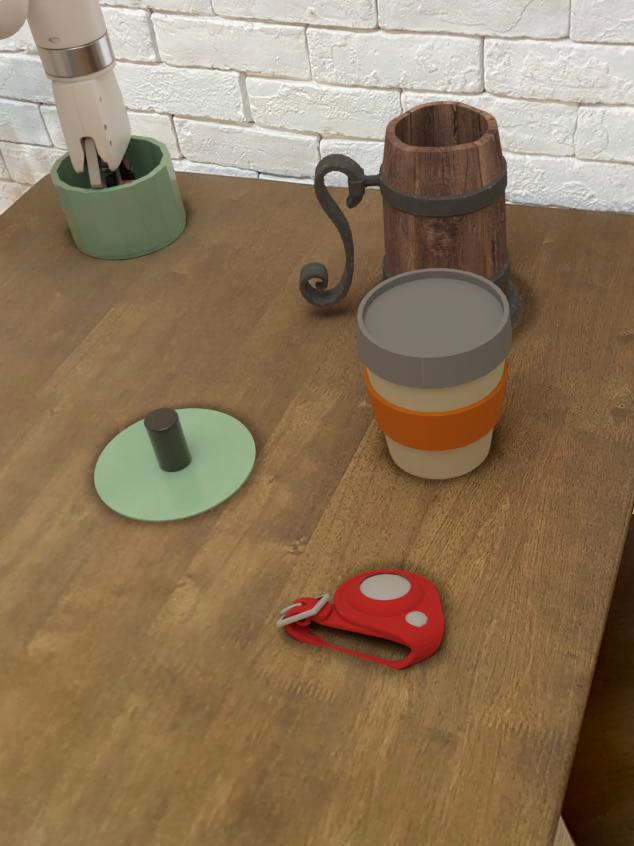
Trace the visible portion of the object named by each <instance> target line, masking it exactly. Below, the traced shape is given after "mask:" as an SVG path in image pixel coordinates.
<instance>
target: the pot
mask: <svg viewBox="0 0 634 846" xmlns="http://www.w3.org/2000/svg"><path fill="white" fill-rule="evenodd" d="M127 149H128V153H129V156H130V159H131V162H132V166H133V171H132V172H129V173H134V175H135V178H136V180H135V181H133V182H131V183H127V184H123V185H119V186H115V187H110V188H97V189H94V188H92V187H91V183H90V176H89V170H88V164H87V166H86V168H85V170H84V172H83V173H81V174H79V173H77V172H76V171H75V170H74V168H73V165H72V162H71V158H70V155H69V152H68V151H66V152H65V153H63V154H62V155H61V156H60V157H59V158H57V159H56V160H55V161H54V163H53V165H52V166H51V169H50V170H49V175H50V177H51V180H52V183H53V186H54V189H55V192H56V195H57V197H58V199H59V203H60V205H61V208H62V211H63V214H64V217H65V219H66V222H67V225H68V227H69V230H70V234H71V236H72V239H73V241H74V244H75V246H76V248H77V249H78V250H79V251H80V252H81V253H82V254H85V255H87V256H89V257H92V258H96V259H101V260H109V261H110V260H111V261H114V260H115V261H116V260H128V259H129V260H130V259H134V258H140V257H143V256H146V255H150V254H152V253H155V252H158V251H159V250H162V249H164V248H166V247H167V246H170V244H173V242H174V241H176V240H177V239H179V237H180V236H181V235H182V234H183V232H184V230H185V228H186V224H187V213H186V209H185V206H184V202H183V198H182V194H181V191H180V187H179V182H178V179H177V175H176V171H175V167H174V164H173V159H172V155H171V152H170V151H169V149H168V146H167V145H166V144H165V143H163V142H162V141H160V140H158V139H156V138H154V137H149V136H142V135H136V134H131V139H130V142H129V144H128V147H127ZM102 164H105V162H102ZM103 174H104V176H106V177H107V175H108V174H112V173H103Z"/></svg>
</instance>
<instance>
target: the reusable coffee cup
mask: <svg viewBox="0 0 634 846" xmlns="http://www.w3.org/2000/svg"><path fill="white" fill-rule="evenodd" d="M512 344H513V331H512V328H511V320H510V311H509V303H508V301H507V298H506V296H505V294H504V293H503V292H502V291H501V289H500V288H499V287H498V286H496V285H495V284H494V283H493V282H491V281H489V280H488V279H486V278H484V277H482V276H479V275H477V274H474V273H471V272H467V271H462V270H457V269H447V268H429V269H421V270H414V271H410V272H406V273H402V274H399V275H396V276H394V277H391V278H389V279H387V280H385V281H384V280H383V281H382V282H380V283H378V284H376V285H375V286H374V287H372V288H371V289H370V290H369V291H368V292H367V293H366V294H365V295H364V297H363V298H362V299H361V301H360V304H359V306H358V307H357V313H356V348H357V354H358V357H359V358H360V360H361V362H362V364H363V365H364V366H363V367H364V368H363V379H364V383H365V386H366V391H367V395H368V398H369V402H370V405H371V408H372V411H373V415H374V419H375V422H376V424H377V426H378V427H379V429H380V431H381V432H382V433H383V434H384V438H385V441H386V444H387V447H388V452H389V455H390V457H391V459H392V461H393V462H394V463H395V464H396V465H397V467H399V468H400V469H402V470H403V471H404V472H406V473H408V474H410V475H412V476H415V477H419V478H422V479H428V480H446V479H454V478H457V477H460V476H464V475H466V474H468V473H470V472H472V471H473V470H475V469H476V468H478V467H480V465H481V464H482V463H483V462H484V461H485V460H486V458H487V457H488V455H489V452H490V448H491V445H492V438H493V434H494V433H493V432H494V428H495V426H496V425H497V423H498V421H499V420H500V417H501V413H502V409H503V403H504V398H505V392H506V387H507V380H508V375H509V361H508V358H507V356H508V355H509V353H510V351H511V348H512Z"/></svg>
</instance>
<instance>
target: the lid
mask: <svg viewBox="0 0 634 846" xmlns="http://www.w3.org/2000/svg"><path fill="white" fill-rule="evenodd" d="M256 458H257V447H256V443H255V440H254V437H253V435H252V434H251V432H250V430H249V429H248V428H247V427H246V425H244V424H243V423H242V422H241V421H240V420H239V419H237V418H235V417H234V416H232V415H229V414H227V413H224V412H222V411H218V410H213V409H209V408H196V407H195V408H194V407H189V408H188V407H187V408H178V409H174V408H170V407H160V408H155V409H154V410H151V411H150V412H148V413H147V414H146V415H145V416H144V418H142V419H140V420H138V421H137V422H135V423H133V424H131V425H129V426H128V427H126V428H124V429H123V430H122V431H120V432H119V433H118V434H116V435H115V436H114V438H112V439H111V440H110V441H109V443H107V445H106V446H105V447H104V448H103V450H102V452H101V453H100V455H99V456H98V458H97V461H96V463H95V467H94V471H93V482H94V488H95V490H96V492H97V495H98V497H99V498H100V501H102V502H103V504H105V505H106V507H108V508H109V509H110V510H112V511H113V512H115V513H117V514H119V515H120V516H123V517H125V518H128V519H132V520H136V521H140V522H150V523H165V522H174V521H179V520H186V519H188V518H192V517H195V516H198V515H201V514H203V513H207V512H208V511H210V510H212V509H214V508H216V507H218V506H219V505H221V504H223V503H224V502H226V501H227V500H229V499H230V498H231V497H233V496H234V495H235V494H236V493H237V492H238V491H239V490H240V489H241V488H242V487H243V485H244V484H245V483H246V482H247V480H248V479H249V478H250V475H251V474H252V472H253V469H254V467H255V464H256V461H257V459H256Z"/></svg>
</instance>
